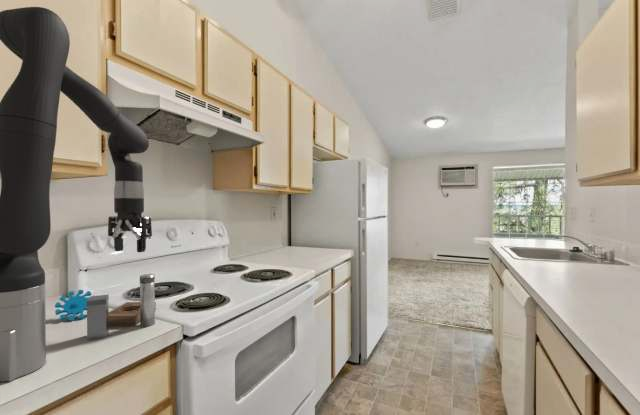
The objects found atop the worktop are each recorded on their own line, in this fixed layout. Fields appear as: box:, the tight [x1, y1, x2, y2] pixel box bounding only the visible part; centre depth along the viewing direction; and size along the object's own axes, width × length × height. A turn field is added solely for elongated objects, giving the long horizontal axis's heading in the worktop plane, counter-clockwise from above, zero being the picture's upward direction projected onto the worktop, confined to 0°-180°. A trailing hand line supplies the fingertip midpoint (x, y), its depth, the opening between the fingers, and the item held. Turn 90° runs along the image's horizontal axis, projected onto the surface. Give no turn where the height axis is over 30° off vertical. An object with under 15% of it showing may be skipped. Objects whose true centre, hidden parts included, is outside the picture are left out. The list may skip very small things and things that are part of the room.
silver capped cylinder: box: [139, 273, 156, 328], centre depth 87 cm, size 4×4×14 cm
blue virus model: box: [54, 289, 92, 322], centre depth 94 cm, size 11×6×10 cm
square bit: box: [86, 294, 110, 341], centre depth 80 cm, size 4×4×10 cm
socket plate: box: [109, 301, 157, 328], centre depth 92 cm, size 12×9×3 cm
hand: (129, 251), depth 92 cm, fingers open, 8 cm apart
